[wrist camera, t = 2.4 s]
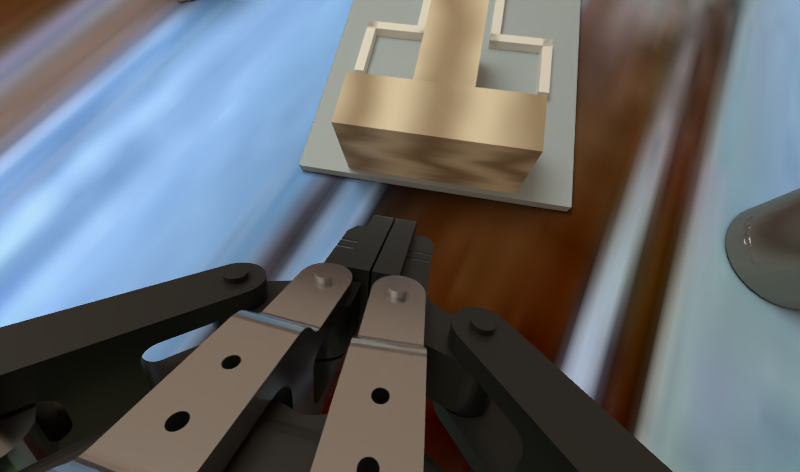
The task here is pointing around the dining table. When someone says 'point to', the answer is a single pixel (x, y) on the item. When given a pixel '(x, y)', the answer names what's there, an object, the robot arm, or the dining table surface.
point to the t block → (442, 112)
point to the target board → (498, 69)
